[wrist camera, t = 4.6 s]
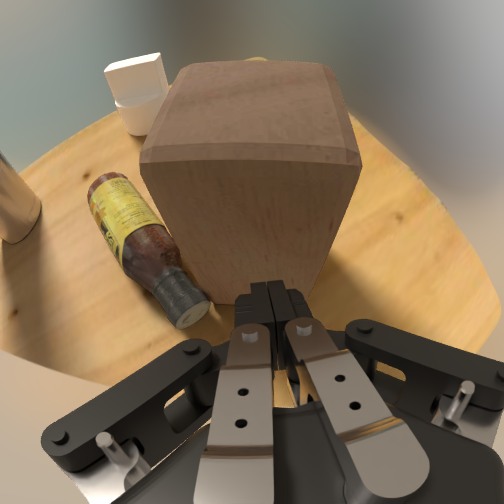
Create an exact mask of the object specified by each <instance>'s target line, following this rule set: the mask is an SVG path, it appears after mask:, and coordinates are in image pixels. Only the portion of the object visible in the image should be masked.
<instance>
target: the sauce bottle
mask: <svg viewBox="0 0 504 504" xmlns="http://www.w3.org/2000/svg"><path fill="white" fill-rule="evenodd" d="M87 198H88V203H89V207H90V211H91V213H92V215H93V217H94V219H95V221H96V223H97V225H98V227H99V228H100V230H101V232H102V234H103V236H104V238H105V240H106V241H107V243H108V245H109V247H110V249H111V251H112V252H113V254H114V256H115V257H116V259H117V261H118V262H119V264H120V266H121V267H122V269H123V271H124V272H125V274H126V275H127V276H128V277H130V278H131V279H132V280H134V281H135V282H137V283H138V284H140V285H141V286H142V287H144V288H145V289H147V290H148V291H149V292H151V293H152V294H153V296H154V297H155V298H156V299H157V300H158V301H159V303H160V304H161V305H162V307H163V309H164V310H165V311H166V312H167V316H168V319H169V320H170V322H171V323H172V324H173V325H174V326H175V327H176V328H177V329H183V328H186V327H188V326H191V325H192V324H194V323H196V322H197V321H198V320H200V319H201V318H202V317H203V316H204V315H205V314H206V312H207V311H208V309H209V308H210V305H211V302H210V300H209V299H208V298H207V296H206V295H205V294H204V293H203V292H202V291H201V290H200V289H198V288H197V287H196V286H195V285H194V284H193V282H192V281H191V280H190V279H189V277H188V276H187V273H186V272H185V271H184V270H183V269H181V256H180V255H181V254H180V250H179V248H178V246H177V245H176V243H175V241H174V239H173V238H172V237H171V236H170V234H169V233H168V232H167V230H166V228H165V226H164V225H163V223H162V222H161V221H160V220H159V218H158V217H157V216H156V214H155V213H154V212H153V210H152V209H151V208H150V207H149V205H148V204H147V203H146V201H145V200H144V199H143V197H142V196H141V195H140V193H139V192H138V191H137V189H136V188H135V187H134V185H133V184H132V183H131V182H130V181H129V180H128V178H127V177H126V176H124V175H123V174H120V173H115V172H111V173H107V174H104V175H102V176H100V177H99V178H98V179H97V180H95V181H94V182H93V184H92V185H91V186H90V188H89V191H88V195H87Z"/></svg>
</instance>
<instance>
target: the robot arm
mask: <svg viewBox="0 0 504 504" xmlns="http://www.w3.org/2000/svg"><path fill="white" fill-rule="evenodd" d="M40 209H41V203H40V200H39V198H38V197H37V196H36V195H35V193H34V192H33V191H32V190H31V189H30V188H29V186H28V185H27V184H26V183H25V182H24V180H23V179H22V178H21V177H20V175H19V174H18V173H17V172H16V171H15V169H14V168H13V167H12V166H11V164H10V163H9V162H8V160H7V159H6V158H5V157H4V155H3V154H2V152H1V151H0V238H1V239H4V240H5V241H6V242H8V243H10V244H14V243H17V242H19V241H21V240H22V239H23V238H24V237H25V236H26V235H27V234H28V233H29V232H30V231H31V229H32V228H33V226H34V225H35V223H36V221H37V219H38V216H39V213H40ZM250 288H251V294H241V295H239V296H238V297H237V298H236V300H235V329H234V330H233V331H232V333H231V336H230V340H229V341H227V342H225V343H223V344H221V345H218V346H214V347H211V346H210V344H209V343H208V342H207V341H205V340H202V339H189V340H185V341H182V342H180V343H179V344H177V345H175V346H174V347H172V348H171V349H169V350H168V351H166V352H165V353H163V354H162V355H160V356H159V357H157V358H156V359H154V360H153V361H151V362H150V363H148V364H147V365H145V366H144V367H142V368H141V369H139V370H138V371H136V372H135V373H133V374H131V375H130V376H128V377H127V378H125V379H124V380H122V381H121V382H119V383H117V384H116V385H114V386H113V387H111V388H109V389H108V390H106V391H105V392H103V393H102V394H100V395H98V396H97V397H95V398H94V399H92V400H90V401H89V402H87V403H85V404H84V405H82V406H81V407H79V408H77V409H76V410H74V411H72V412H71V413H69V414H68V415H66V416H64V417H62V418H61V419H59V420H57V421H56V422H54V423H52V424H51V425H49V426H48V427H47V428H46V429H45V430H44V432H43V434H42V436H41V445H42V448H43V449H44V451H45V452H46V453H47V454H48V455H49V456H50V457H51V458H52V459H53V460H54V461H55V462H56V464H57V465H58V467H59V468H60V469H61V470H62V471H63V472H64V473H65V474H66V475H67V476H68V477H69V478H70V479H71V480H73V481H74V483H75V484H76V485H77V487H78V488H79V489H80V491H81V492H82V493H83V495H84V496H85V497H86V499H87V500H88V501H89V503H90V504H504V465H503V463H502V460H501V458H500V457H499V455H498V454H497V453H496V452H495V451H494V450H493V449H492V446H493V442H494V439H495V436H496V433H497V429H498V426H499V422H500V418H501V415H502V412H503V411H504V363H503V362H500V361H496V360H493V359H489V358H486V357H483V356H480V355H477V354H473V353H470V352H467V351H464V350H461V349H457V348H454V347H451V346H448V345H445V344H442V343H439V342H436V341H433V340H430V339H426V338H423V337H420V336H417V335H414V334H411V333H408V332H405V331H402V330H399V329H396V328H393V327H390V326H387V325H385V324H382V323H379V322H376V321H373V320H368V319H358V320H354V321H352V322H350V323H349V324H348V325H347V326H346V329H345V331H331V330H326V329H325V328H324V326H323V325H322V323H321V322H320V321H318V320H316V319H314V318H313V316H312V314H311V312H310V310H309V307H308V305H307V303H306V301H305V299H304V296H303V294H302V293H301V292H300V291H298V290H297V289H286V287H285V285H284V282H283V280H274V281H267V285H266V281H265V282H256V283H250ZM277 360H278V365H279V370H283V369H286V373H287V385H288V388H289V391H290V394H291V398H292V401H293V404H294V407H295V408H279V407H274V386H273V381H274V378H275V376H274V371H276V370H278V366H277ZM378 361H379V362H382V363H384V364H387V365H389V366H392V367H394V368H397V369H399V370H401V371H402V372H403V373H404V374H405V376H406V381H402V380H400V379H397V378H395V377H392V376H390V375H387V374H385V373H382V372H380V371H378V370H376V367H377V362H378ZM182 389H184V391H185V393H184V394H182V395H181V396H180V397H178V398H177V399H176V400H175V401H173V402H172V403H171V404H169V405H168V406H167V407H166V408H164V406H165V404H166V402H167V401H168V400H169V399H171V398H172V397H173V396H174V395H176V394H177V393H178V392H180V391H181V390H182ZM211 417H212V419H211V423H209V424H207V425H205V426H204V427H202V428H200V427H201V426H202V425H204V424H205V423H206V422H207V421H208V420H209V419H210V418H211ZM199 428H200V429H199ZM198 429H199V430H198ZM194 432H195V433H194ZM186 439H187V440H186ZM185 440H186V441H185ZM184 441H185V442H184ZM183 442H184V443H183ZM180 444H182V445H180ZM179 445H180V446H179ZM178 446H179V447H178ZM177 447H178V448H177ZM176 448H177V449H176ZM174 449H176V450H175V451H174V452H172V451H173V450H174ZM171 452H172V453H171ZM169 453H171V454H170V455H169V456H168V457H167V458H166V459H164V460H163V461H162V462H161V463H160V464H159V465H157V466H156V467H155V468H154V469H153V470H152V471H151V468H152V467H153V466H155V465H156V464H157V463H158V462H159V461H161V460H162V459H163V458H165V457H166V456H167V455H168V454H169Z"/></svg>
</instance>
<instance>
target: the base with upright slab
mask: <svg viewBox="0 0 504 504" xmlns="http://www.w3.org/2000/svg"><path fill="white" fill-rule="evenodd" d="M104 74H105V76H106V79H107V82H108V84H109V87H110V89H111V92H112V94H113V97H114V100H115V104H116V106H117V109H118V112H119V114H120V116H121V119H122V121H123V123H124V126H125V128H126V130H127V132H128V133H129V134H131V135H135V136H143V135H148V133H149V131H150V129H151V127H152V124H153V122H154V120H155V118H156V116H157V114H158V112H159V110H160V108H161V106H162V104H163V102H164V100H165V98H166V96H167V94H168V92H169V87H168V84H167V79H166V76H165V72H164V67H163V64H162V59H161V55H160V53H155V54H150V55H145V56H140V57H136V58H131V59H127V60H123V61H119V62H115V63H112V64H110V65H109V66H108V67H107V68H106V69H105V71H104Z"/></svg>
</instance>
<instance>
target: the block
mask: <svg viewBox="0 0 504 504" xmlns="http://www.w3.org/2000/svg"><path fill="white" fill-rule="evenodd" d="M139 166H140V174H141V177H142V179H143V181H144V183H145V185H146V187H147V189H148V191H149V193H150V195H151V197H152V199H153V201H154V203H155V205H156V207H157V209H158V210H159V212H160V214H161V216H162V218H163V220H164V222H165V224H166V226H167V228H168V230H169V231H170V233H171V235H172V237H173V239H174V241H175V243H176V245H177V246H178V248H179V250H180V252H181V254H182V255H183V257H184V259H185V261H186V263H187V264H188V266H189V268H190V270H191V272H192V273H193V275H194V277H195V279H196V280H197V282H198V284H199V286H200V287H201V289H202V291H203V293H204V294H205V295H206V296H207V298H208V299H209V300H210V301H211V302H213V303H215V304H232V305H235V300H236V298H237V297H238V296H239V295H241V294H251V288H250V283H256V282H265V281H266V285H267V281H274V280H283V282H284V285H285V287H286V289H297V290H298V291H300V292H301V293H302V294H303V296H304V299H305V301H307V299H308V297H309V295H310V293H311V291H312V289H313V286H314V284H315V282H316V280H317V278H318V275H319V273H320V271H321V269H322V267H323V264H324V262H325V260H326V258H327V255H328V253H329V251H330V248H331V246H332V244H333V241H334V239H335V237H336V234H337V232H338V229H339V227H340V225H341V222H342V220H343V217H344V215H345V212H346V210H347V207H348V205H349V202H350V200H351V197H352V195H353V192H354V189H355V187H356V184H357V182H358V179H359V176H360V173H361V169H362V161H361V156H360V152H359V149H358V145H357V141H356V138H355V134H354V131H353V128H352V125H351V121H350V118H349V115H348V112H347V109H346V106H345V103H344V100H343V97H342V94H341V91H340V88H339V86H338V83H337V80H336V77H335V75H334V72H333V70H332V69H331V68H330V67H327V66H325V65H322V64H319V63H307V62H293V61H260V60H254V61H222V62H207V63H195V64H191V65H189V66H187V67H184V68H183V69H181V70H180V72H179V74H178V76H177V77H176V79H175V81H174V83H173V85H172V87H171V88H170V90H169V92H168V94H167V96H166V98H165V100H164V102H163V104H162V106H161V108H160V110H159V112H158V114H157V116H156V118H155V120H154V122H153V124H152V127H151V129H150V131H149V133H148V135H147V137H146V140H145V142H144V144H143V147H142V149H141V151H140V159H139Z"/></svg>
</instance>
